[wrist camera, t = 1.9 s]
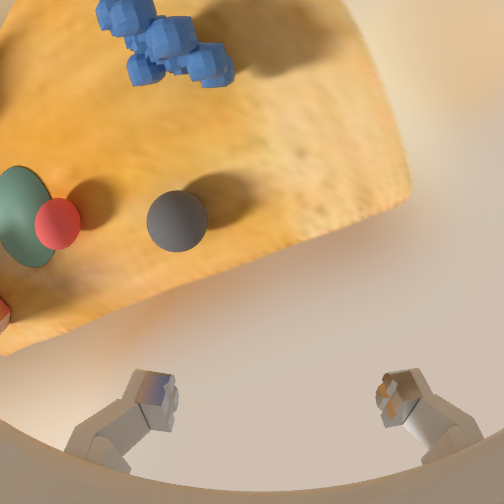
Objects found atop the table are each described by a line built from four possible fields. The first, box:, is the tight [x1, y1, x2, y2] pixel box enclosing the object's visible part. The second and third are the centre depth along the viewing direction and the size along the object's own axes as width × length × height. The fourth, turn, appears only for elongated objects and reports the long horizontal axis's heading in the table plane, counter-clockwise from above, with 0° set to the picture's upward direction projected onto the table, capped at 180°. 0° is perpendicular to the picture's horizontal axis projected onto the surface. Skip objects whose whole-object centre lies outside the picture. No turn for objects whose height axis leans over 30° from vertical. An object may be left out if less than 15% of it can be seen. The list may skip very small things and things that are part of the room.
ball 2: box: [147, 190, 208, 252], centre depth 25 cm, size 6×6×6 cm
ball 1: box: [35, 198, 81, 250], centre depth 25 cm, size 6×6×6 cm
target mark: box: [0, 167, 54, 267], centre depth 27 cm, size 14×14×1 cm
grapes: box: [96, 0, 235, 88], centre depth 16 cm, size 12×7×12 cm, turn 52°
